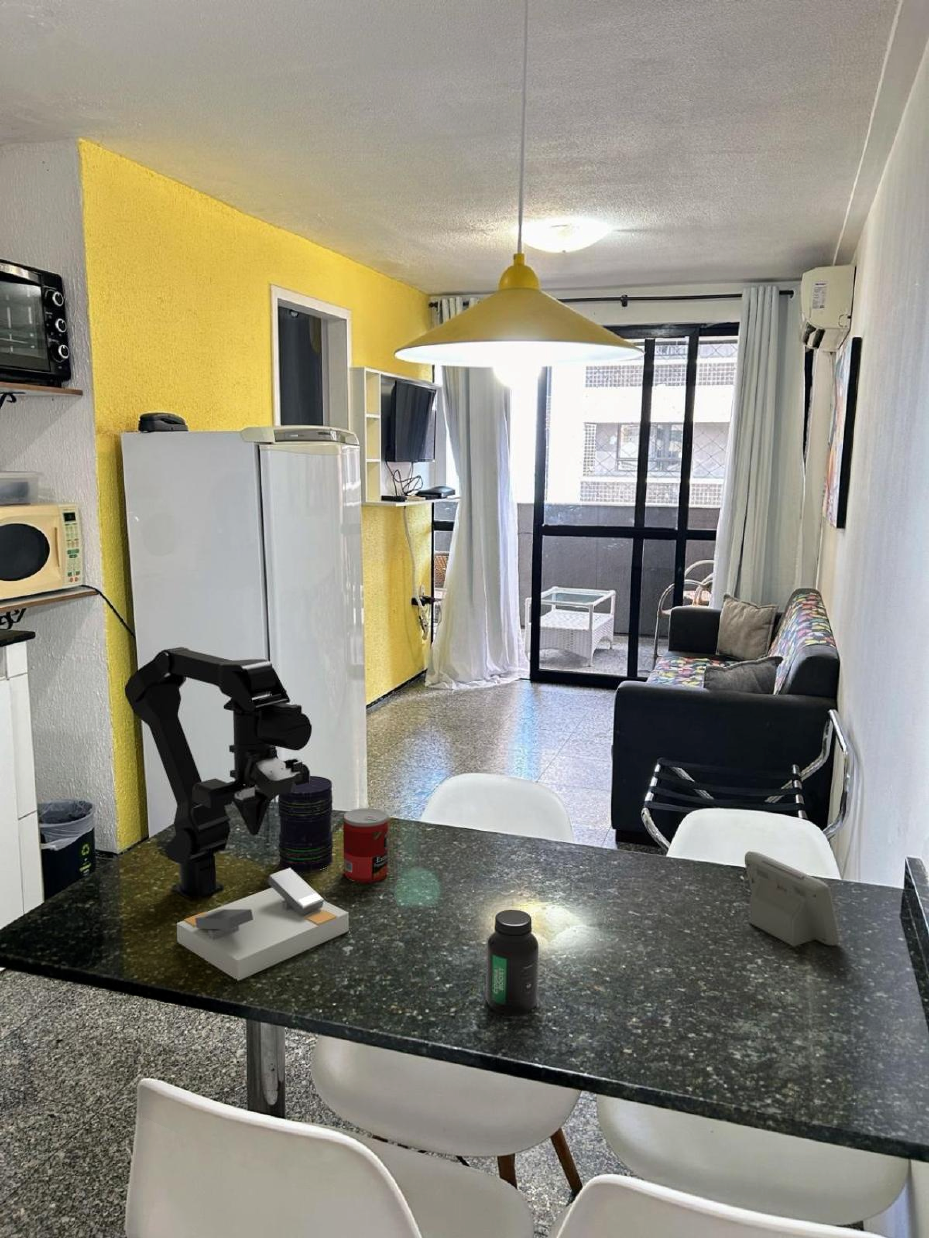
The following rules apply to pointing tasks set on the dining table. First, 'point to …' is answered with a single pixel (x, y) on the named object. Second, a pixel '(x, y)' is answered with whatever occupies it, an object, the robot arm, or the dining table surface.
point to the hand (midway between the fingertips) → (254, 834)
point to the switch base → (262, 934)
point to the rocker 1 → (224, 918)
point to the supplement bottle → (512, 964)
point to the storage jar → (306, 826)
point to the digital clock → (789, 902)
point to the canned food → (365, 844)
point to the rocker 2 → (295, 891)
